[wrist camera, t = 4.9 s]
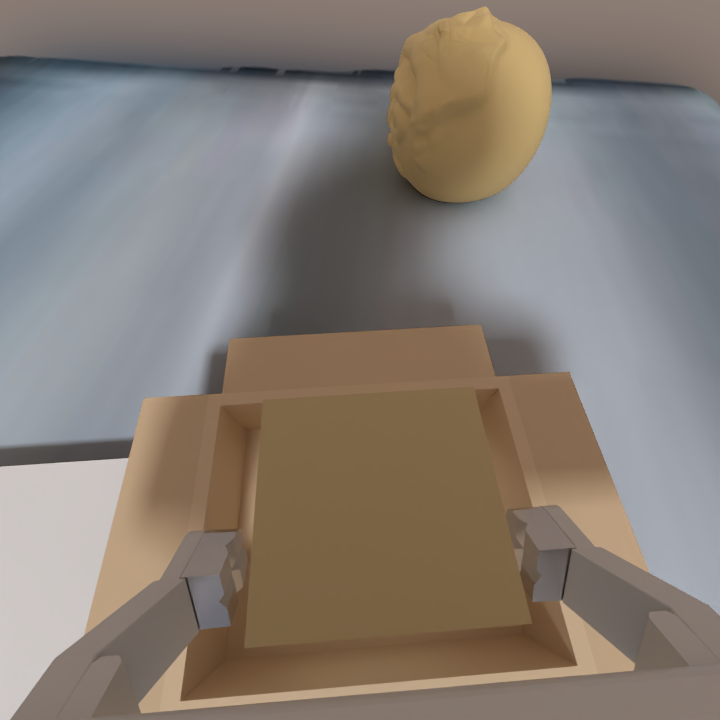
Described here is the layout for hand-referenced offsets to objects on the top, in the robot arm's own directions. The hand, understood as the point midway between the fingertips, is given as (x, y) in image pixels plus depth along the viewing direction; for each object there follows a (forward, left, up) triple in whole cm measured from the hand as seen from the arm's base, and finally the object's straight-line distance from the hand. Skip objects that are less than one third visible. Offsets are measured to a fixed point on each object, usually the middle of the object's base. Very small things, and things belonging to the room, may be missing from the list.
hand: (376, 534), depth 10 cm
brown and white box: (-1, 0, -7) cm, 7 cm away
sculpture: (-20, +22, -8) cm, 31 cm away
